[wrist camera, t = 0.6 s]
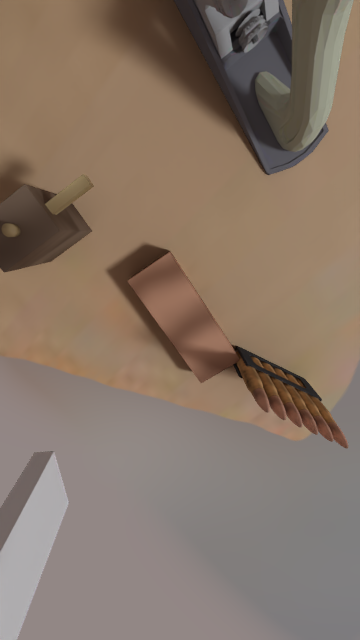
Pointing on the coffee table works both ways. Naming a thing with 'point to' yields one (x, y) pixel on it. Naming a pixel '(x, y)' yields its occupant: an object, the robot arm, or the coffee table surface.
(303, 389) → the ammunition clip
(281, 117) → the hand plane
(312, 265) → the coffee table surface
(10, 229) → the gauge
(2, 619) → the robot arm
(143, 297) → the board
